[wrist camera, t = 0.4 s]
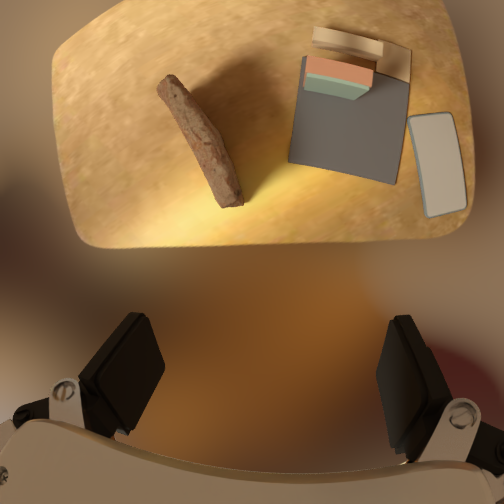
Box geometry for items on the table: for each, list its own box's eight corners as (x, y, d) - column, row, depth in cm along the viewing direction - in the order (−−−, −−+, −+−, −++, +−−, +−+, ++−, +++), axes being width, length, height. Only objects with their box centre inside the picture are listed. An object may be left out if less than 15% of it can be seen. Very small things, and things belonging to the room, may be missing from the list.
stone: (231, 209, 39) (255, 197, 38) (228, 229, 30) (259, 213, 29) (168, 98, 32) (192, 84, 32) (146, 84, 23) (177, 66, 23)
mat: (302, 57, 29) (302, 56, 28) (408, 84, 28) (409, 84, 27) (288, 162, 35) (287, 162, 34) (393, 185, 34) (394, 185, 33)
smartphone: (451, 111, 27) (467, 209, 32) (448, 111, 28) (464, 207, 33) (406, 116, 29) (426, 219, 34) (403, 116, 30) (423, 218, 35)
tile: (304, 73, 29) (307, 55, 22) (357, 84, 29) (373, 70, 21) (302, 89, 30) (304, 75, 23) (355, 100, 30) (371, 90, 22)
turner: (310, 57, 29) (311, 50, 26) (313, 25, 27) (315, 16, 24) (408, 83, 28) (416, 79, 25) (409, 51, 25) (417, 45, 23)
